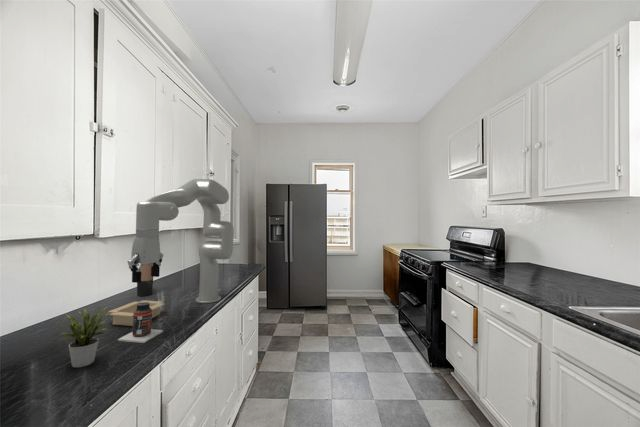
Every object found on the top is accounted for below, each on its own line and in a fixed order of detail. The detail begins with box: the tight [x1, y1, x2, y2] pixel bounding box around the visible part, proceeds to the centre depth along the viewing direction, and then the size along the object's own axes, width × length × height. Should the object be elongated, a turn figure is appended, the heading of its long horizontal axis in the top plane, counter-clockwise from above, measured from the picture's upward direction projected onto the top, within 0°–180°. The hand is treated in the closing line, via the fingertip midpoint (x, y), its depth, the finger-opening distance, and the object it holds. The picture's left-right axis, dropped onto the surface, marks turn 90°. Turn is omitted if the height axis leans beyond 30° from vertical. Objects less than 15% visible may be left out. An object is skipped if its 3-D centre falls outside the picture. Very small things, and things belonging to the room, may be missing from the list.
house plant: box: [58, 306, 116, 368], centre depth 86 cm, size 14×14×16 cm
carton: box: [107, 300, 166, 327], centre depth 121 cm, size 19×15×5 cm
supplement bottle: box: [131, 302, 153, 337], centre depth 105 cm, size 6×6×11 cm
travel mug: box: [136, 264, 154, 298], centre depth 157 cm, size 8×8×20 cm
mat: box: [117, 328, 164, 344], centre depth 105 cm, size 10×10×1 cm
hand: (146, 279), depth 107 cm, fingers open, 9 cm apart
